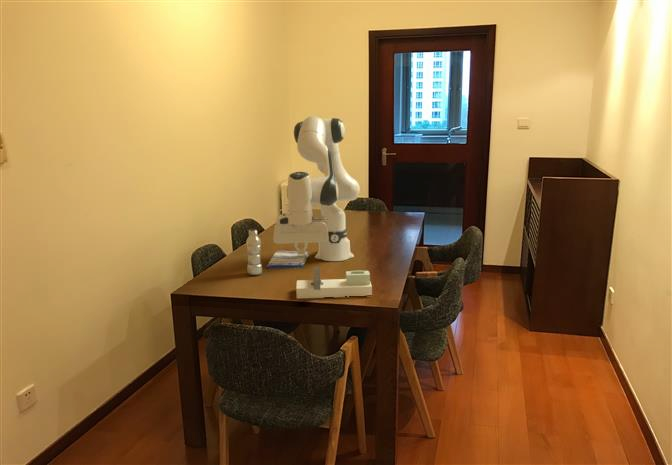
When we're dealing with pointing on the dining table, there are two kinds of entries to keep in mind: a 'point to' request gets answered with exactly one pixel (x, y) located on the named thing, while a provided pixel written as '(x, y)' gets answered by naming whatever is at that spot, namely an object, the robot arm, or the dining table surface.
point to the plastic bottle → (254, 253)
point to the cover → (357, 277)
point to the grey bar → (316, 278)
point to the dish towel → (287, 259)
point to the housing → (331, 289)
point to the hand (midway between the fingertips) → (301, 254)
